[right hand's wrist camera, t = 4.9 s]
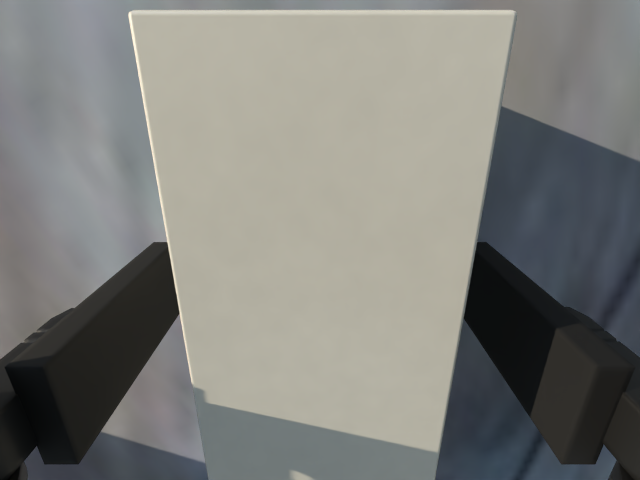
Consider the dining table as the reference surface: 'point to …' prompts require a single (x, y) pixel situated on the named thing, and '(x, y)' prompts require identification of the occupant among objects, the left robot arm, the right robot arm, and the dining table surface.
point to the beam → (322, 224)
